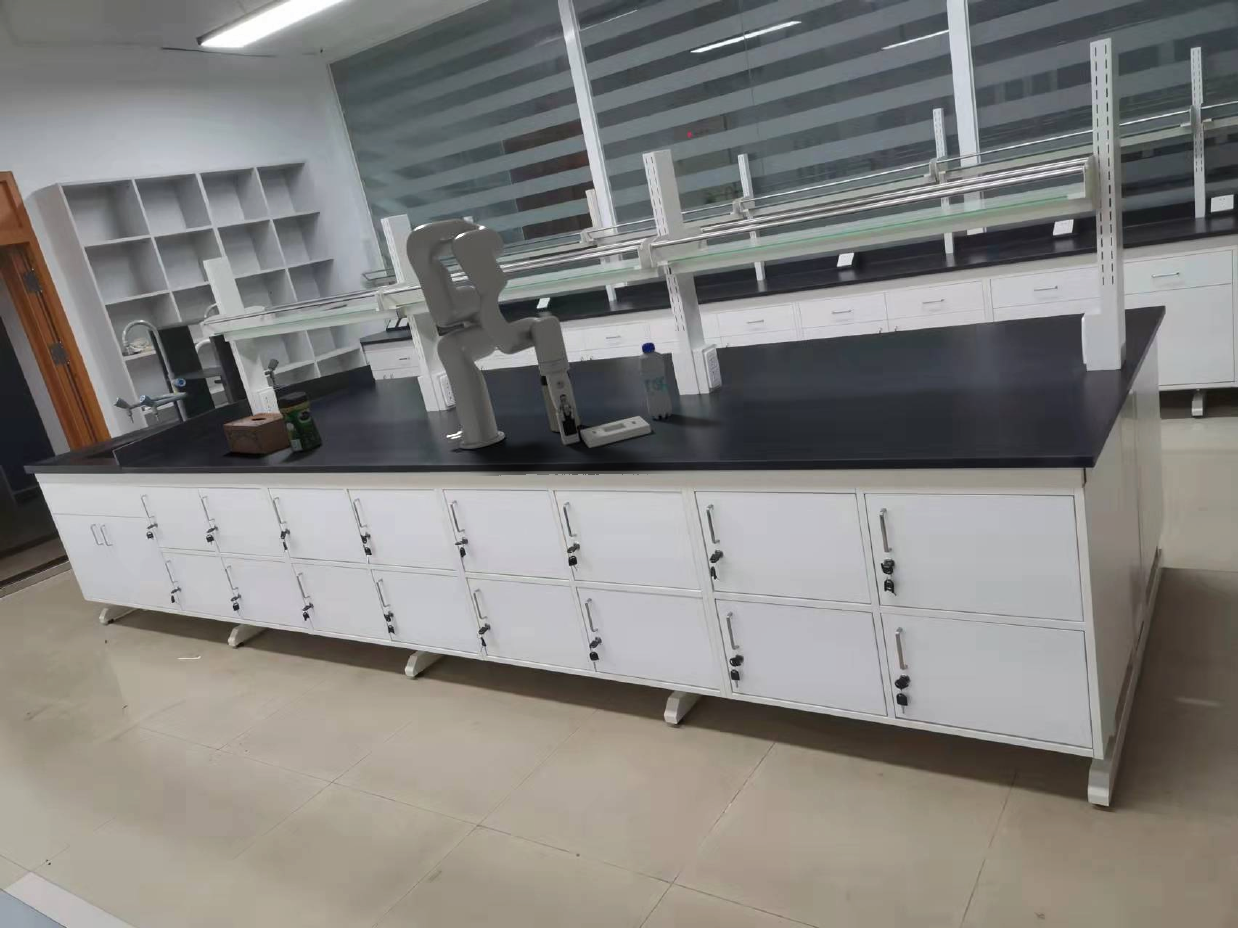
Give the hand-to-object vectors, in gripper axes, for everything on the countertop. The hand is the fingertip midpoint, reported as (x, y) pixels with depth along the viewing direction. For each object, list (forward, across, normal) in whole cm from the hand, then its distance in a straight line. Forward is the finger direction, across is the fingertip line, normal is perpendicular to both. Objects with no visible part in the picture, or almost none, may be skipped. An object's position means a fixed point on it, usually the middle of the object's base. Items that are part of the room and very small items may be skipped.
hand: (568, 430), depth 226 cm
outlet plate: (+3, -5, -11) cm, 12 cm away
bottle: (+3, +2, -25) cm, 25 cm away
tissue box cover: (+3, +98, +95) cm, 137 cm away
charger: (+3, 0, 0) cm, 3 cm away
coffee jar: (+3, +76, +78) cm, 109 cm away
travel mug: (+3, +16, -1) cm, 16 cm away
